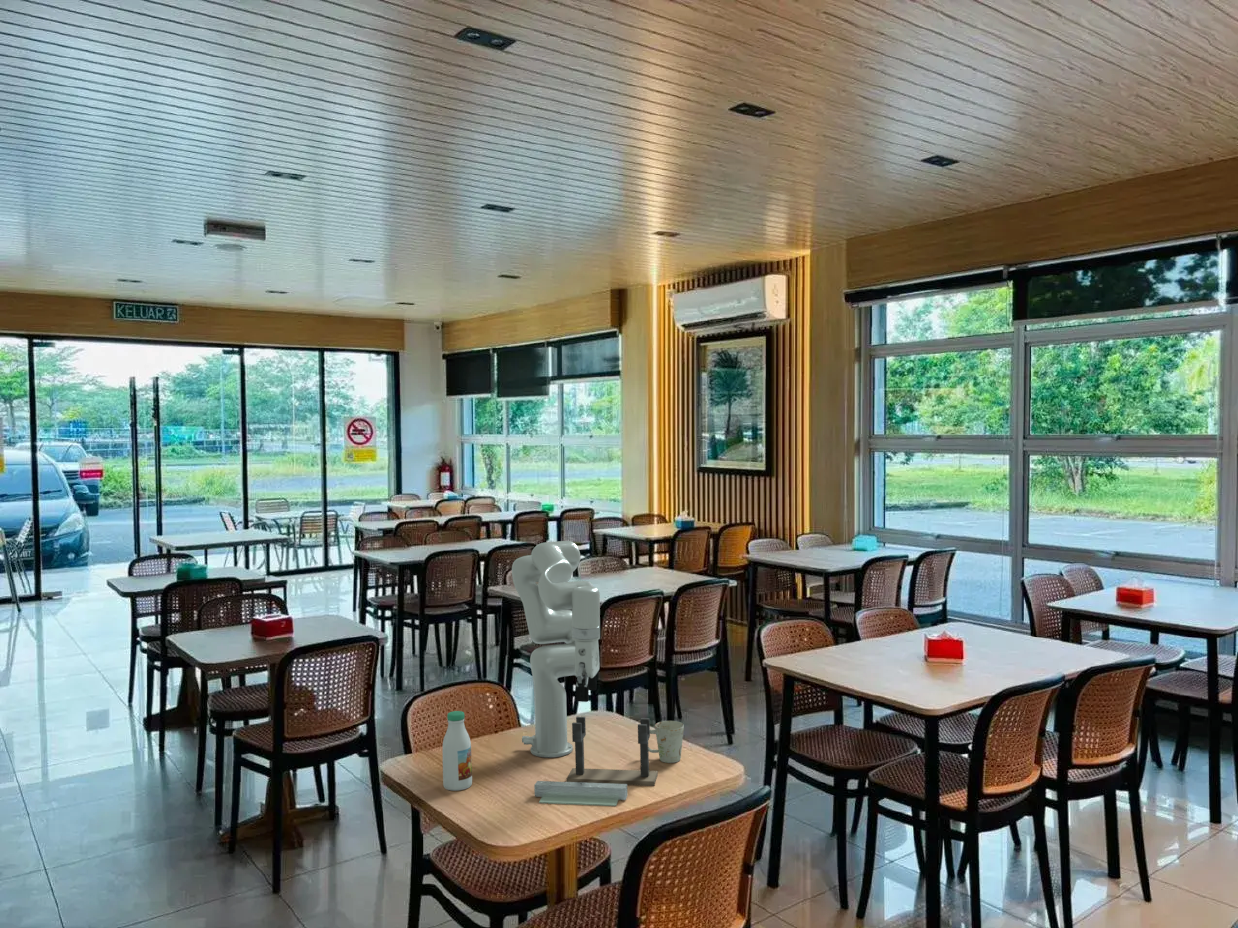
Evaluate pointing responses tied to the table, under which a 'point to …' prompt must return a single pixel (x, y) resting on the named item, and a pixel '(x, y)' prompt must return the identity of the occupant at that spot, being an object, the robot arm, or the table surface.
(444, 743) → the milk bottle
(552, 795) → the rail
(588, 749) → the table surface
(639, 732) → the hook stand
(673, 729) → the mug
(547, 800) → the mat
